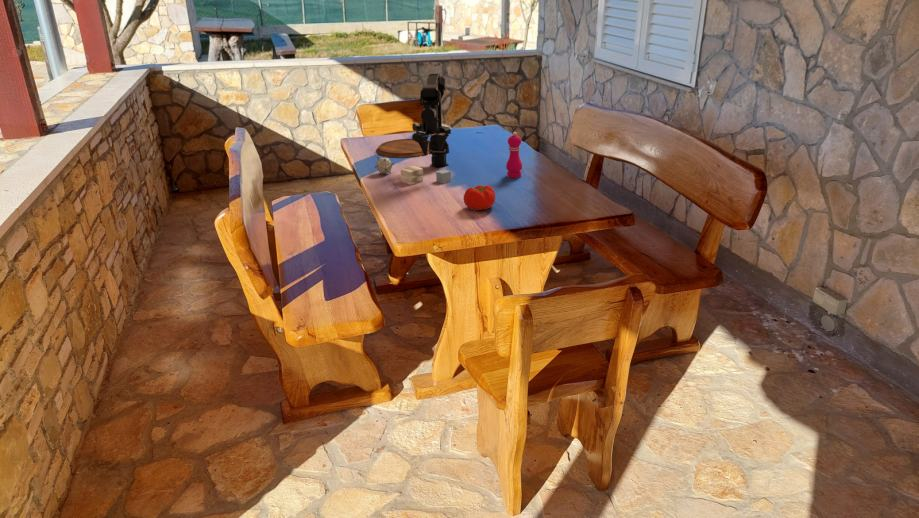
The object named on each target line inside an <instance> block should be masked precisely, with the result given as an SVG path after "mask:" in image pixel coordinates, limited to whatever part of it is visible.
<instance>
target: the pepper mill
mask: <svg viewBox="0 0 919 518" xmlns="http://www.w3.org/2000/svg"><path fill="white" fill-rule="evenodd" d="M507 145H508V150H509V157H508V158H507V161H506V164H505V168H506V170H507V173H506V175H507V178H509V179H510V178H511V179H518V178H521V177H522V172H521V171H522V169H523V162H522V160H521V157H520V150H521V146H520V145H522V138H521V136H519V135H518V134H517V132H516V131H513V132H512V134H511V135H510V136H508V138H507Z"/></svg>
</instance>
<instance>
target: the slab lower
mask: <svg viewBox="0 0 919 518" xmlns="http://www.w3.org/2000/svg"><path fill="white" fill-rule="evenodd" d="M399 176H400V182H402V183H403V184H408V185H409V186H410V185H415V184H417V183H422V182H423V181H424V174H423V175H422V176H419V177H415V178H412V179H410V178H407V177H404V176H401V174H400V175H399Z"/></svg>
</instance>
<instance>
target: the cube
mask: <svg viewBox="0 0 919 518" xmlns="http://www.w3.org/2000/svg"><path fill="white" fill-rule="evenodd" d="M451 174H452V173H451V171H450V170H447V169H440V170H438V171H435V176H436V178H435V181H436V182H437V183H441V184H445V183H450V182H451V181H452V177H451ZM449 181H450V182H449Z"/></svg>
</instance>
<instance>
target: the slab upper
mask: <svg viewBox="0 0 919 518" xmlns="http://www.w3.org/2000/svg"><path fill="white" fill-rule="evenodd" d="M400 175H401V176H404V177H407V178H410V179H412V178H415V177H419V176H422V175H423V176H424V169H423V168H421V167H418V166H415V165H409V166H407V167H404V168H400ZM401 176H400V177H401Z"/></svg>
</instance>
